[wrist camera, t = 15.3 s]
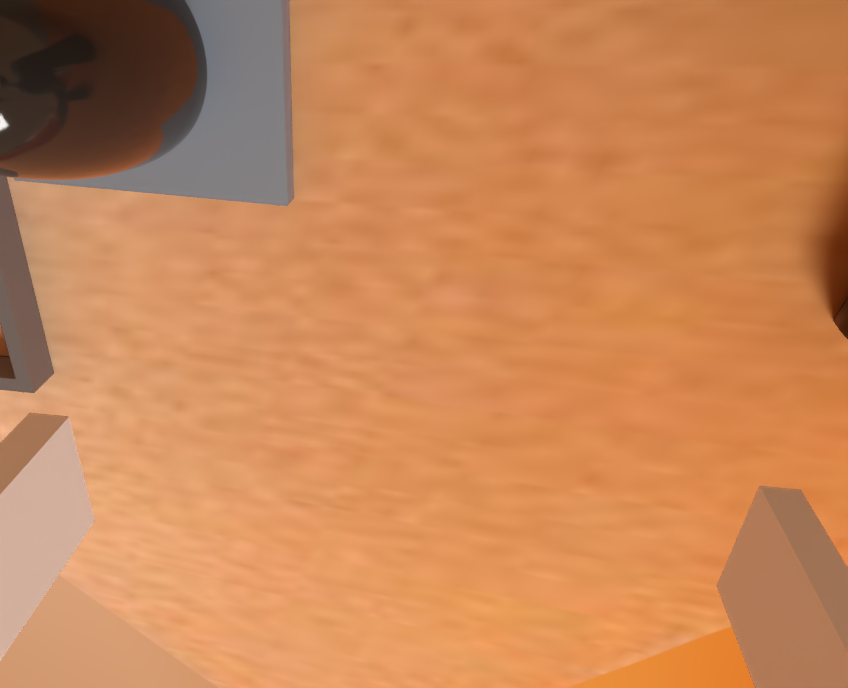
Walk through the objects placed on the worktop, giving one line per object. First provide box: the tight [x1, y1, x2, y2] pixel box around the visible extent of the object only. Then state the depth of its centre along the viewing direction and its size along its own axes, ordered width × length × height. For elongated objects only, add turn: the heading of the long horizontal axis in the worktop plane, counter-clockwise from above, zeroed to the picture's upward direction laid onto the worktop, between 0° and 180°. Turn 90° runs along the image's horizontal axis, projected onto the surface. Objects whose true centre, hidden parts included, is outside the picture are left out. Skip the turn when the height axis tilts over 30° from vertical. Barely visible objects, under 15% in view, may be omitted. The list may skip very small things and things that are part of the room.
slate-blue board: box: [14, 0, 294, 206], centre depth 35 cm, size 16×16×2 cm
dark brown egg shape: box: [0, 0, 207, 180], centre depth 28 cm, size 10×10×15 cm
